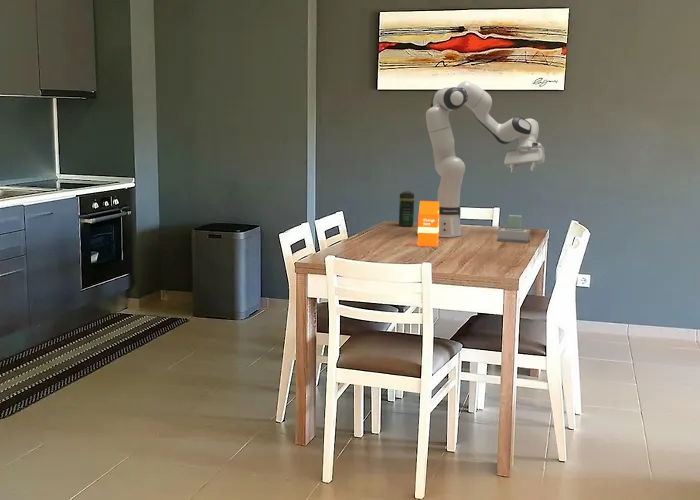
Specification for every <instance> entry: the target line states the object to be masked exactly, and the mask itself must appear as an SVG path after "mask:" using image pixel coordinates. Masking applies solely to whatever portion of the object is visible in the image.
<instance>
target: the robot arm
mask: <svg viewBox="0 0 700 500" xmlns="http://www.w3.org/2000/svg"><path fill="white" fill-rule="evenodd" d="M492 105H493V99H492V97H491V95H490V94H489V93H488V92H487V91H486V90H485V89H482V88H481V87H480V86H478V85H476V84H474V83H472V82H470V81H467V80H465V81H461V82H460V83H459V84H458V85H457V86H455V87H454V86H453V87H443V88H440V89H438V90H435V92H434V93H433V94H432V96H431V104H430V108H428V109H427V110H426V112H425V120H426V126H427V127H426V128H427V132H428V135H429V138H430V142H431V147H432V152H433V154H432V155H433V161H434V169H435V171H436V173H437V175H439V176H440V181H439V186H438V189H437V198H436V199H437V201H438V202H439V238H455V237H461V236H463V234H462V233H463V232H462V229H461V221H460V220H461V219H460V218H461V215H462V213H461V212H462V209H461V206H460V204H461V189H462V185H463V184H462V183H463V179H464V175H465V173H466V165H465V164H466V163H464V161H463V160H462V159H461V158H459V157H458V156H456V150H455V148H456V147H455V142H456V141H455V138H454V134H453V130H452V126H451V123H450V119H449V118H450V117H449V114H450V112H452V111H455V110H456V111H457V110H458V109H460V108H461V107H463V106H466V107H467V108H468V109H469V110H470V111H472V112H473V116H474V118H475V119H476V120H477V121H478V123H480V124H481V125H482V126H483V127H484V128H485V129H487V131H488V132H489V133H491V135H492V136H493V137H494V138H495V139H496V141H497V142H498V143H500V144H502V145H509V144H510V143H511V142H513V141H514V140H516V139H518V145H517V147H516V148H517V149H513V150H509V151H507V152H506V154H505V157H504V161H503V163H504V166H505V167H506V168H510V169H511V170H510V173H511V174H513V175H514V174H516V170H515V168H517V167H525V166H527V167H528V166H530V167H529V168H528V172H529V173H533V172H534V169H535V168H536V167H537V165H543V164H544V162H545V161H546V159H545V157H546V155H545V148H544V146H543V145H542V143H541V142H537V140H538V137H539V131H540V127H539V123H538V121H537V120H535V119H533V118H523V117H522V116H518V115H517V116H514V117H512V118H510V119H509V120H507V121H506V122H504V123H499V122H497V121H496V120H495V119H494V118H493V116H491V115H490V111H491V109H492ZM416 235H417V236H418V230H417V231H416Z"/></svg>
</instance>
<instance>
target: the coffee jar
mask: <svg viewBox="0 0 700 500" xmlns="http://www.w3.org/2000/svg"><path fill="white" fill-rule="evenodd" d="M398 208H399V209H398V225H399V226H400V227H404V228H406V227H413V226H414V221H415V220H414V218H415V217H414V216H415V215H414V214H415V194H414V192H412V191H411V190H410V191H409V190H405V191H404V190H403V191H402V192H400V193H399V207H398Z"/></svg>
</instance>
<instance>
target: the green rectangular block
mask: <svg viewBox="0 0 700 500" xmlns="http://www.w3.org/2000/svg"><path fill="white" fill-rule="evenodd" d="M522 219H523V215H518V214H517V215H516V214H515V215H514V214H513V215H512V214H509V215H508V217H507V229H522V222H523V220H522Z"/></svg>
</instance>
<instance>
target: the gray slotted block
mask: <svg viewBox="0 0 700 500" xmlns="http://www.w3.org/2000/svg"><path fill="white" fill-rule="evenodd" d="M530 241H531V230H530V229H523V228H521V229H508V228H504V227H503V228H499V229H497V238H496V242H503V243H504V242H505V243H519V244H522V243H523V244H528V243H529V242H530Z"/></svg>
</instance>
